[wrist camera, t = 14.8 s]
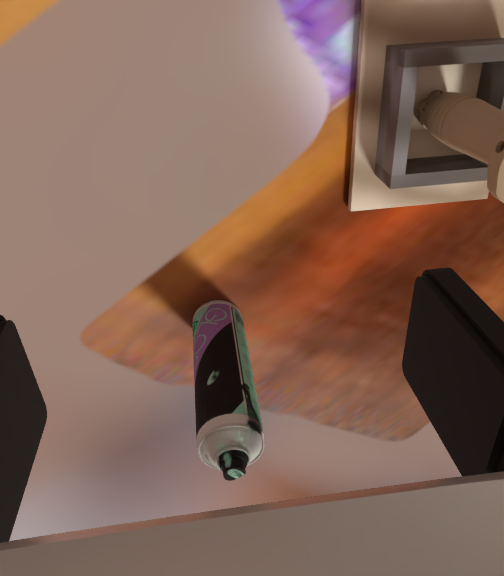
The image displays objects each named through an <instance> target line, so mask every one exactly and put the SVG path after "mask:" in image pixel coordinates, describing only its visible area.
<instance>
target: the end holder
mask: <svg viewBox="0 0 504 576" xmlns="http://www.w3.org/2000/svg"><path fill="white" fill-rule="evenodd" d="M435 90H441V91H443V92H457V93H462V94H467V95H471V96H473V97H476V98H478V99H481V100H483V101H485V102H487V103H489V104H491V105H492V106H494V107H496V108H498V109H500V110H502V111H504V0H361V13H360V28H359V43H358V59H357V74H356V89H355V105H354V120H353V135H352V151H351V166H350V181H349V197H348V208H349V210H350V211H360V210H370V209H381V208H392V207H402V206H413V205H424V204H435V203H445V202H456V201H467V200H477V199H487V197H488V193H489V190H488V188H487V173H488V164H486V163H484V162H482V161H479V160H477V159H475V158H473V157H471V156H468V155H466V154H464V153H461V152H459V151H457V150H454V149H452V148H450V147H449V146H447V145H445V144H444V143H442V142H440V141H439V140H438V139H437V138H435V137H434V136H433V135H432V134H431V133H430V132H429V131H428V129H425V128H424V127H423V126H422V125H421V124H420V122H419V120H420V111H419V110H418V105H419V103H420V102H421V101H423V100H425V99H426V98H428V97H429V95H430V94H431V92H432V91H435Z"/></svg>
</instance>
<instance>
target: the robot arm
mask: <svg viewBox="0 0 504 576" xmlns="http://www.w3.org/2000/svg"><path fill="white" fill-rule="evenodd" d="M402 368H403V373H404V376H405V378H406V380H407V381H408V383H409V385H410V387H411V388H412V390H413V392H414V394H415V395H416V397H417V399H418V400H419V402H420V404H421V406H422V407H423V409H424V411H425V413H426V414H427V416H428V418H429V420H430V421H431V423H432V425H433V426H434V428H435V430H436V432H437V433H438V435H439V437H440V438H441V440H442V442H443V444H444V446H445V447H446V449H447V451H448V452H449V454H450V456H451V458H452V459H453V461H454V463H455V464H456V466H457V468H458V470H459V472H460V473H461V475H462V477H454V478H445V479H437V480H430V481H423V482H415V483H408V484H401V485H394V486H386V487H379V488H371V489H364V490H357V491H350V492H342V493H335V494H328V495H320V496H313V497H306V498H299V499H292V500H285V501H278V502H271V503H264V504H257V505H250V506H243V507H236V508H229V509H222V510H215V511H208V512H201V513H194V514H188V515H180V516H173V517H166V518H160V519H153V520H146V521H140V522H132V523H126V524H119V525H112V526H106V527H99V528H92V529H85V530H78V531H72V532H65V533H58V534H51V535H45V536H39V537H34V538H27V539H21V540H15V541H9V539H10V536H11V533H12V529H13V526H14V523H15V520H16V516H17V514H18V510H19V507H20V503H21V501H22V497H23V494H24V491H25V488H26V485H27V481H28V478H29V475H30V472H31V469H32V465H33V462H34V459H35V455H36V452H37V449H38V446H39V443H40V439H41V436H42V433H43V430H44V427H45V424H46V419H47V410H46V405H45V402H44V400H43V397H42V394H41V392H40V389H39V387H38V384H37V381H36V379H35V376H34V373H33V371H32V368H31V366H30V363H29V360H28V358H27V355H26V352H25V350H24V347H23V345H22V342H21V339H20V337H19V334H18V332H17V329H16V326H15V324H14V323H13V322H12V321H11V320H8V321H6V319H5V318H4V317H3V316H1V315H0V576H504V322H503V321H502V320H501V319H500V318H499V317H498V316H497V315H496V314H495V313H494V312H493V311H492V310H491V309H490V308H489V307H488V306H487V304H486V303H485V302H484V301H483V300H482V299H481V298H480V297H479V296H478V295H477V294H476V293H475V292H474V291H473V290H472V289H471V288H470V287H469V286H468V285H467V284H466V283H465V282H464V281H463V280H462V279H461V278H460V277H459V276H458V275H457V273H456V272H455V271H454V270H452V269H451V268H440V269H430V270H425V271H424V272H423V274H422V276H421V277H417V279H416V281H415V285H414V292H413V298H412V304H411V310H410V317H409V323H408V329H407V336H406V342H405V348H404V355H403V361H402Z"/></svg>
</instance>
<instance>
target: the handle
mask: <svg viewBox="0 0 504 576" xmlns="http://www.w3.org/2000/svg"><path fill="white" fill-rule="evenodd" d="M418 110H419V111H420V120H419V122H420V124H421V125H422V126H423V127H424V128H425V129H428V131H429V132H430V133H431V134H432V135H433V136H434V137H435V138H437V139H438V140H439V141H440V142H442V143H444V144H445V145H447V146H449V147H450V148H452V149H454V150H457V151H459V152H461V153H464V154H466V155H468V156H471V157H473V158H475V159H477V160H479V161H482V162H484V163H486V164H488V173H487V188H488V190H489V191H490V193H491V194H492V195H493V196H494V197H495V198H497V199H498V200H500V201H501V202H503V203H504V111H502V110H500V109H498V108H496V107H494V106H492V105H491V104H489V103H487V102H485V101H483V100H481V99H478V98H476V97H473V96H471V95H467V94H462V93H457V92H443V91H441V90H435V91H432V92H431V94H430V95H429V97H428V98H426V99H425V100H423V101H421V102H420V103H419V105H418Z"/></svg>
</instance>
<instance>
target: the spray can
mask: <svg viewBox="0 0 504 576" xmlns="http://www.w3.org/2000/svg"><path fill="white" fill-rule="evenodd" d="M193 351H194V380H195V406H196V407H195V409H196V436H197V437H196V438H197V448H198V452H199V456H200V458H201V460H202V461H203V462H204V463H205V464H206V465H208V466H209V467H212V468H214V469H218V470H221V471H223V475H224V478H225V479H226V480H235V479H237V478H239V477H241V476H243V475H244V474H245V473H246V471H245V468H246V467H247V466H249V465H250V464H252V463H254V462H255V461H256V460H257V459H258V458H259V457H260V456H261V454H262V452H263V450H264V433H263V427H262V422H261V416H260V411H259V405H258V400H257V395H256V389H255V384H254V379H253V373H252V368H251V362H250V357H249V352H248V346H247V341H246V336H245V330H244V325H243V319H242V316H241V313H240V311H239V309H238V308H237V307H236V306H235V305H234V304H232V303H230V302H228V301H224V300H213V301H210V302H207V303H205V304H203V305H202V306H200V307H199V308H198V309H197V310H196V312H195V314H194V316H193Z"/></svg>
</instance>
